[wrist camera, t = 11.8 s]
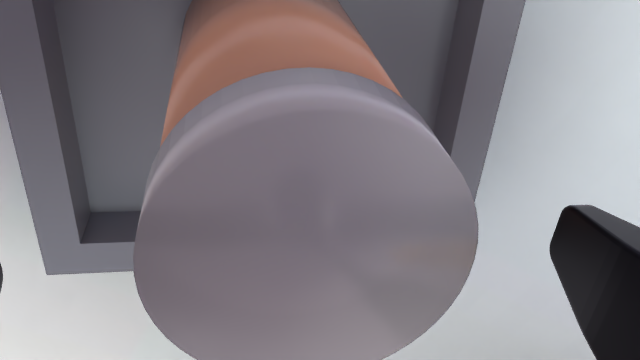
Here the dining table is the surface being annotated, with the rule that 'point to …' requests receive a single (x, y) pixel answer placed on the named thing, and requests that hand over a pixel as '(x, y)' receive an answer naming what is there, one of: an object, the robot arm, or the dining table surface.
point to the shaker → (296, 194)
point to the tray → (154, 90)
